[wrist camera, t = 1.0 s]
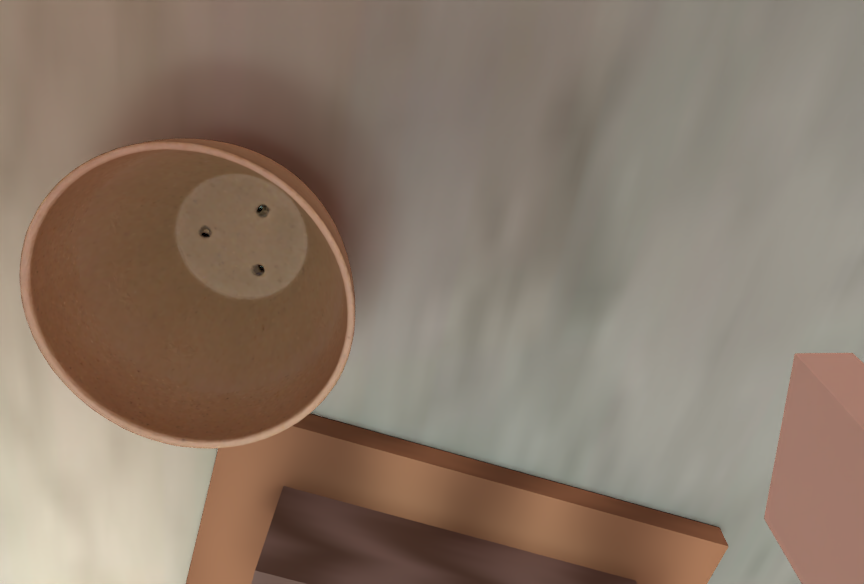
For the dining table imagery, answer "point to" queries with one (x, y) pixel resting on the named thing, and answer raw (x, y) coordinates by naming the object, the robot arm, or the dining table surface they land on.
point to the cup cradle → (424, 520)
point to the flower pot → (189, 292)
